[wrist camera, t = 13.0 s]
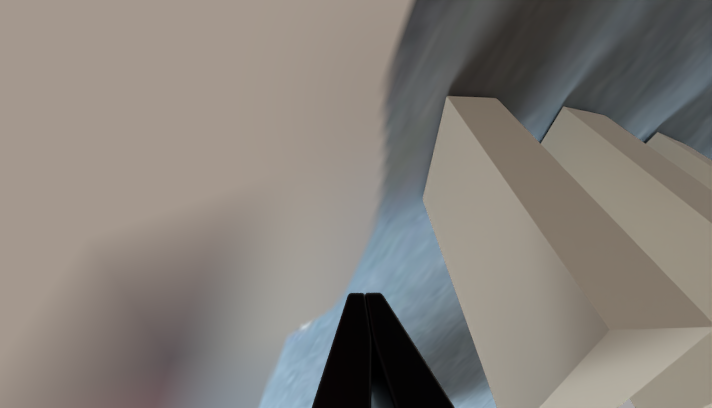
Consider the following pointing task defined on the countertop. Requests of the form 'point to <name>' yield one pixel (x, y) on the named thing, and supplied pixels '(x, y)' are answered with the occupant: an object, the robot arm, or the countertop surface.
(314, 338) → the countertop surface
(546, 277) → the domino
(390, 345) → the robot arm
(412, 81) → the countertop surface
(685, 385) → the domino
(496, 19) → the countertop surface
